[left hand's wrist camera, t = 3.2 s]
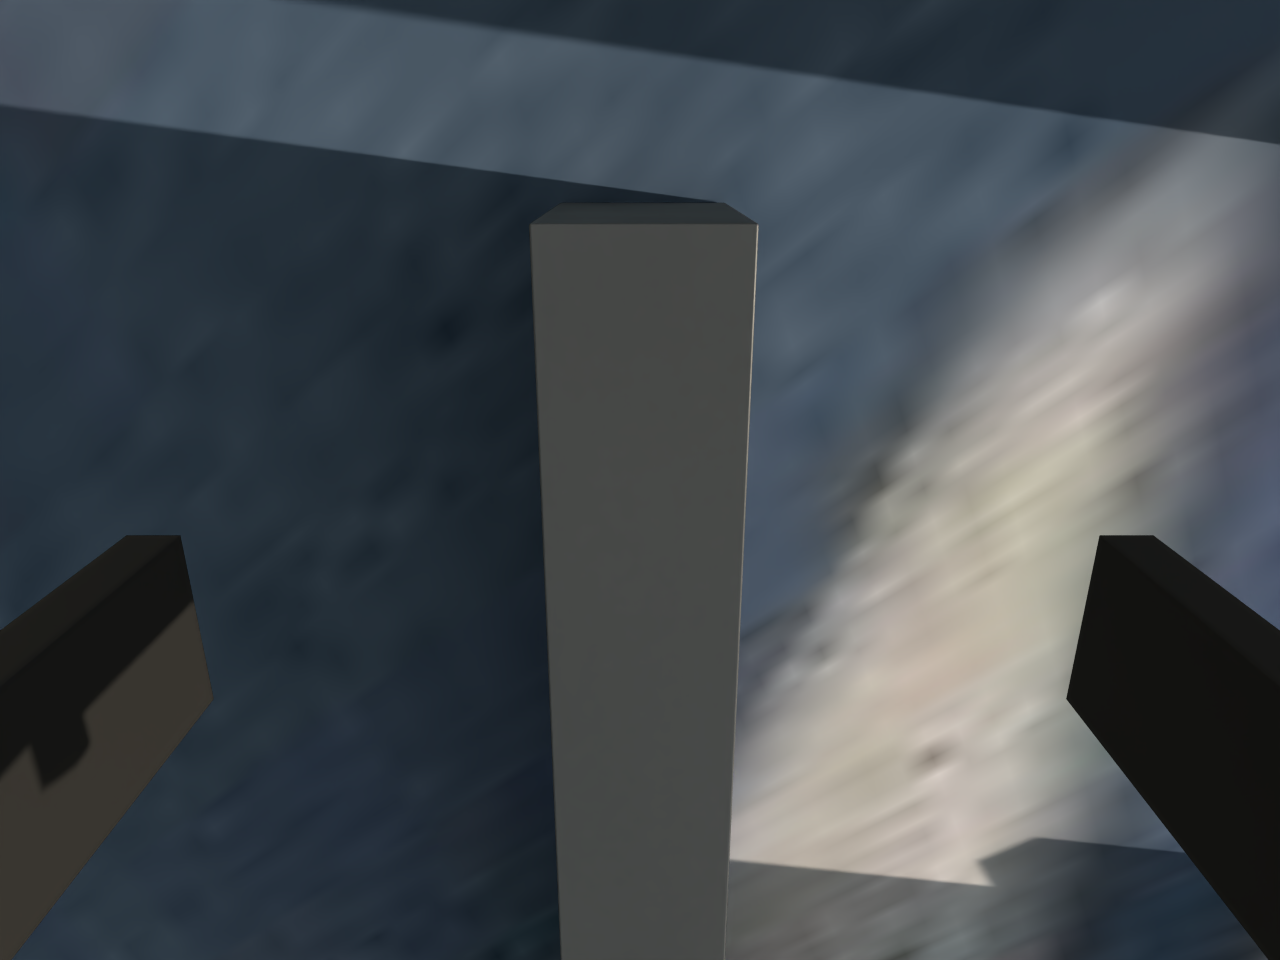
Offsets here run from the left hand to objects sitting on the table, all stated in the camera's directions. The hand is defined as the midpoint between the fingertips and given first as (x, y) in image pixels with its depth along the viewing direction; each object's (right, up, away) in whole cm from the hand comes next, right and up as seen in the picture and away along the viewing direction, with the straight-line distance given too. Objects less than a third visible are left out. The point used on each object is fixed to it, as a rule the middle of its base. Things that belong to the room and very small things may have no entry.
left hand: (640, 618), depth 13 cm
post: (0, -16, +23) cm, 28 cm away
